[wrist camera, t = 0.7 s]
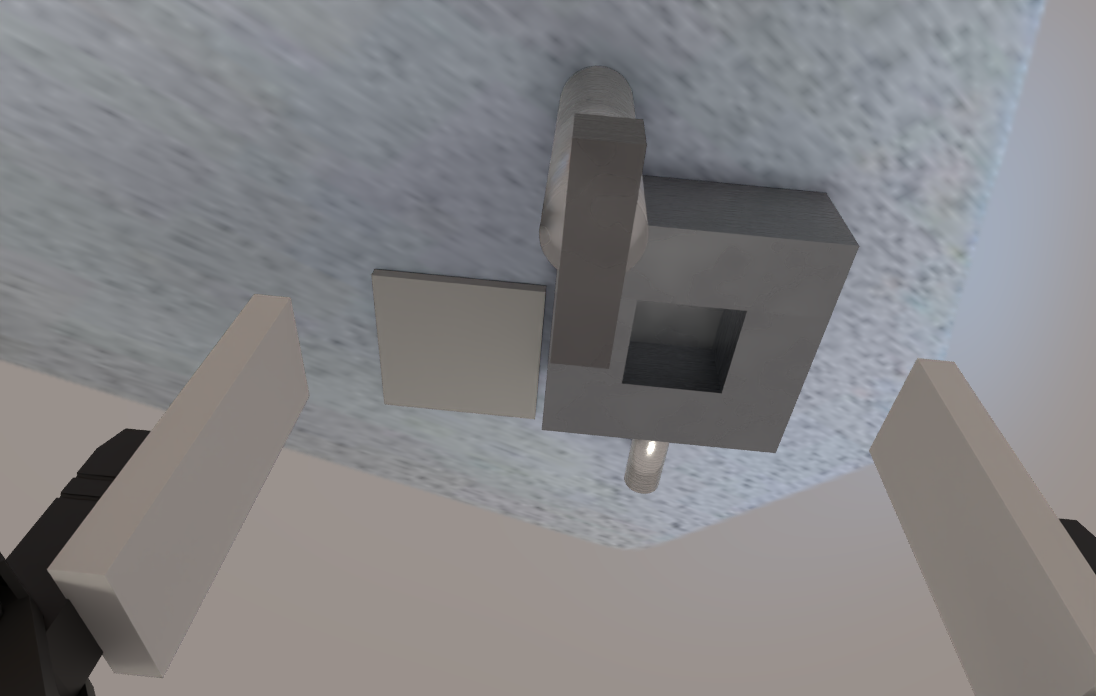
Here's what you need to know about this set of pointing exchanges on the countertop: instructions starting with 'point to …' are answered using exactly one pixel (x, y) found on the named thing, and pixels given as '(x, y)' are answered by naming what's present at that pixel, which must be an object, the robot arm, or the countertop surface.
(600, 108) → the chuck key
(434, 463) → the countertop surface
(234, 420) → the robot arm
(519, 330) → the mat
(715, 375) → the block
